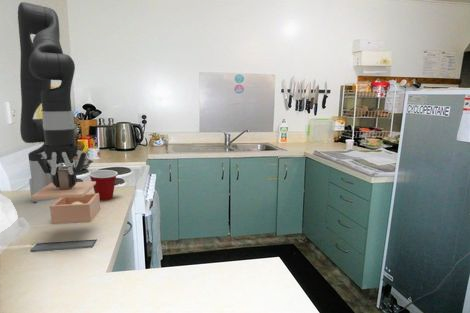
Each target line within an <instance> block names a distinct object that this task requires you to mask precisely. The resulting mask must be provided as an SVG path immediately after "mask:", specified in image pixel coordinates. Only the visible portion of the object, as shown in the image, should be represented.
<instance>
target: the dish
mask: <svg viewBox="0 0 470 313" xmlns="http://www.w3.org/2000/svg"><path fill="white" fill-rule="evenodd" d="M74 202H81V203H83V204H72V203H74ZM49 209H50V210H49V211H50V217H51V224H52V225H53V224H54V225H55V224H57V225H58V224H70V223H88V222H92V221H93V219H94V218H95V217H96V215H97V214H98V213H99V211H100V210H101V201H100V198H99V193H95V192H94V193H93V192H92V193H86V194H85V195H84V196H83V197H72V198H59V199H56V201H54V202H53V203H52V204H51V205H49Z"/></svg>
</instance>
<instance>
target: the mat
mask: <svg viewBox="0 0 470 313" xmlns="http://www.w3.org/2000/svg"><path fill="white" fill-rule="evenodd" d="M97 240H98V239H81V240H70V241H69V240H68V241H57V242H41V243H40V242H38V243H35V245H34V246H33V247H32V248H30V253H34V252H47V251H51V252H52V251H63V250H75V249H77V250H78V249H91V248H94V247H95V246H94V245H95V244H96V242H97Z"/></svg>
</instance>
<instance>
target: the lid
mask: <svg viewBox="0 0 470 313" xmlns="http://www.w3.org/2000/svg"><path fill="white" fill-rule="evenodd" d="M58 180H59V188H56V186H54V184H53V183H50V184H49V185H47V186H46V187H44V188H43V189H41V190H40V191H38V192H37V193H35V194H34V195H32V196H31V195H30V200H32V199H51V198H72V197H83V196H84V195H85V194H88V192H89V191H91V189H92V188H93V186H94V185H95V184H96V181H94V182H92V181H77V183H76V184H75V186H74V187H70V183H69V171H68V168H62V169H60V168H59V170H58Z"/></svg>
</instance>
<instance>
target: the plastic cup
mask: <svg viewBox="0 0 470 313" xmlns="http://www.w3.org/2000/svg"><path fill="white" fill-rule="evenodd" d="M88 176H89V177H90V182H94V181H96V184H95V185H94V186H93V187H92V188H93V190H94V193H99V198H100V202H104V201H110V200H112V199H114V191H115V183H116V178H117V177H118V171H116V170H111V169H100V170H99V169H97V170H93V171H90V172H89V173H88Z"/></svg>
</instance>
